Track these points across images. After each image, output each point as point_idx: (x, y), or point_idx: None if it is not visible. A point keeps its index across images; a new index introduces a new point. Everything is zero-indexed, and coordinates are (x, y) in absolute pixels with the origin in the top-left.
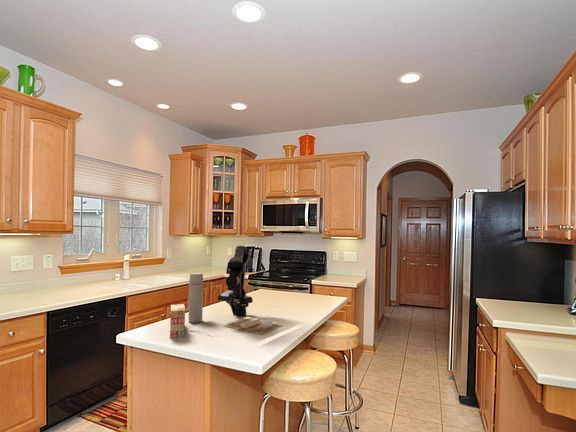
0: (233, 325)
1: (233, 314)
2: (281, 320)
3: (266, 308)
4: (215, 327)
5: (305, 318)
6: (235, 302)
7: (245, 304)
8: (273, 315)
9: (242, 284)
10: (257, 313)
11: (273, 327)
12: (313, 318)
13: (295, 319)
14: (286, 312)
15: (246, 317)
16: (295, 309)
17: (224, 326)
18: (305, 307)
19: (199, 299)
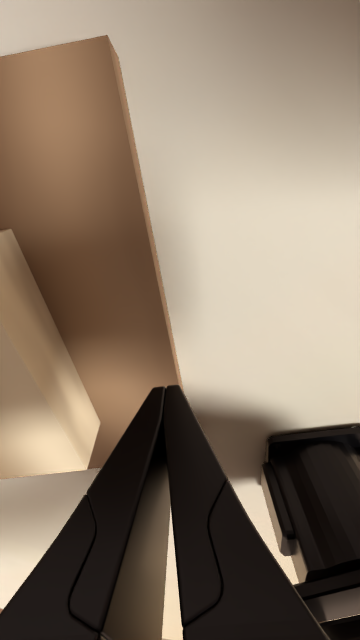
0: (48, 235)
1: (174, 394)
2: (56, 536)
3: (297, 583)
4: (294, 64)
5: (21, 584)
6: None
7: (331, 616)
8: (171, 555)
9: None
10: (274, 540)
11: None
12: (2, 593)
13: (31, 566)
14: (167, 589)
15: (58, 446)
16: (177, 612)
17: (76, 74)
18: (170, 627)
19: None
